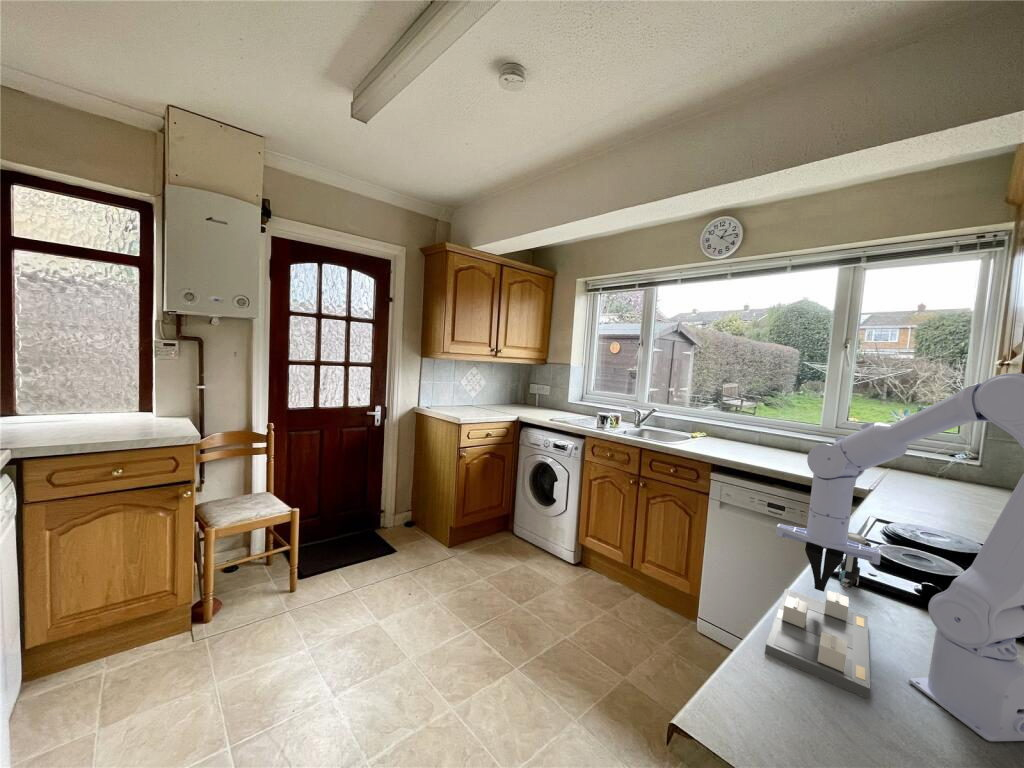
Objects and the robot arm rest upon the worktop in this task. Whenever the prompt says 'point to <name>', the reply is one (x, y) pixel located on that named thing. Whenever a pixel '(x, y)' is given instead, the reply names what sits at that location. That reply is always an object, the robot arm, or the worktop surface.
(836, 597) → the far tab
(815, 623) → the switch plate
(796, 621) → the middle tab
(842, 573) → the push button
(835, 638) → the near tab
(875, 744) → the worktop surface
